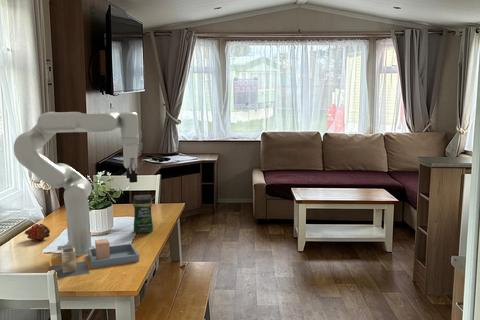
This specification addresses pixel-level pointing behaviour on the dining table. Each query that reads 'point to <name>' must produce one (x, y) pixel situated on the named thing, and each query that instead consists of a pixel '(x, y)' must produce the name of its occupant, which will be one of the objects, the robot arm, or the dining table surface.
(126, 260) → the slate bin
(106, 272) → the dining table surface
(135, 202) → the coffee jar
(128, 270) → the dining table surface
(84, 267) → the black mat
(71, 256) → the birch box
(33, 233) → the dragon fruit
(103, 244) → the terracotta box
